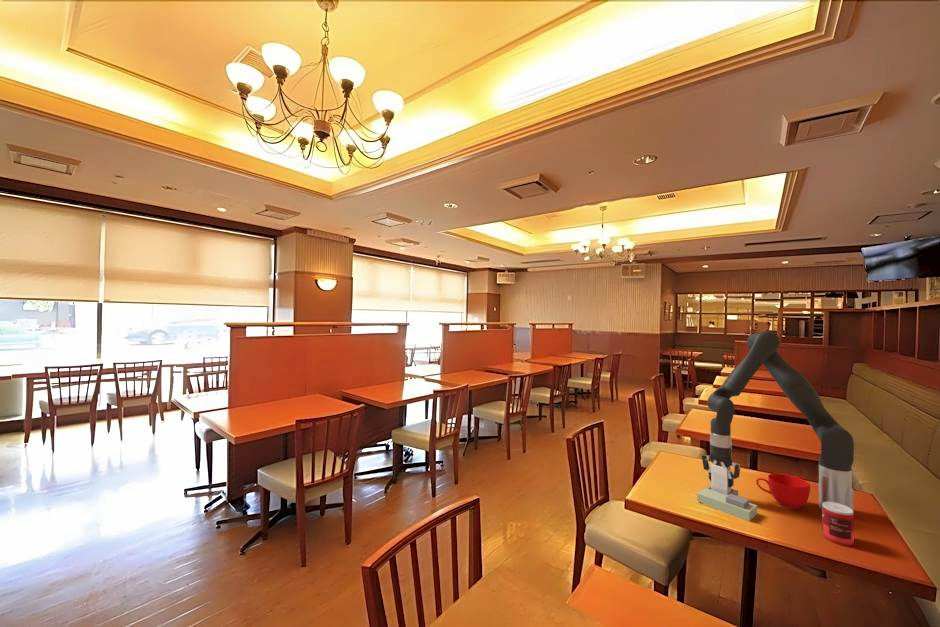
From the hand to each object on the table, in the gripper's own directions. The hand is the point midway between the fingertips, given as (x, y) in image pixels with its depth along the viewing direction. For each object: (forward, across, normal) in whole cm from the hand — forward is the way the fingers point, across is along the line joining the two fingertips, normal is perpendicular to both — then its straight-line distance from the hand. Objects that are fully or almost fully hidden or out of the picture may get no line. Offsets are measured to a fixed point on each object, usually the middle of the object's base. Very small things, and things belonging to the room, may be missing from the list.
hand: (720, 483), depth 159 cm
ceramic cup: (+6, -17, -14) cm, 23 cm away
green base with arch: (+5, -5, +4) cm, 8 cm away
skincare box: (+4, 0, 0) cm, 4 cm away
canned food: (+6, -36, +1) cm, 36 cm away
